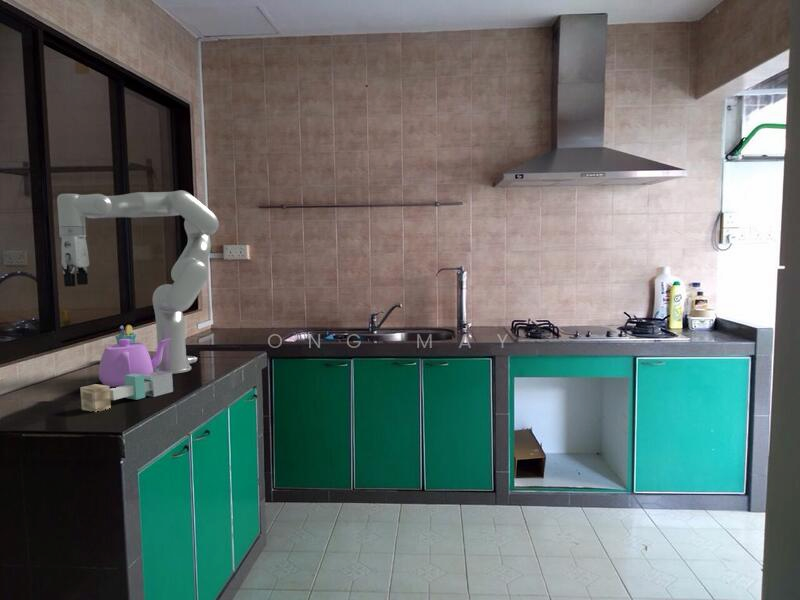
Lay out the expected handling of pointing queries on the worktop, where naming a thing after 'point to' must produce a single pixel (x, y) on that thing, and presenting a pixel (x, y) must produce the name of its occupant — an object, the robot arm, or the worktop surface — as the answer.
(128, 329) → the potted flower
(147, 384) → the plug
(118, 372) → the teapot
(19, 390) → the worktop surface
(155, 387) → the sleeve
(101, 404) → the socket
